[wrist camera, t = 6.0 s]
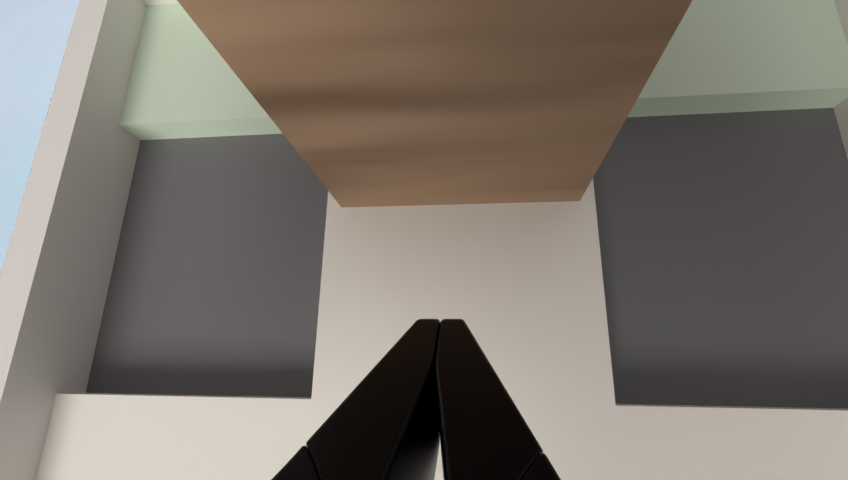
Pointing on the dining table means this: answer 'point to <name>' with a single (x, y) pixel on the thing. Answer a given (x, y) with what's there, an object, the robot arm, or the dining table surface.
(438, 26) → the walnut block
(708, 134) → the white recessed tray
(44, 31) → the dining table surface
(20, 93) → the dining table surface
